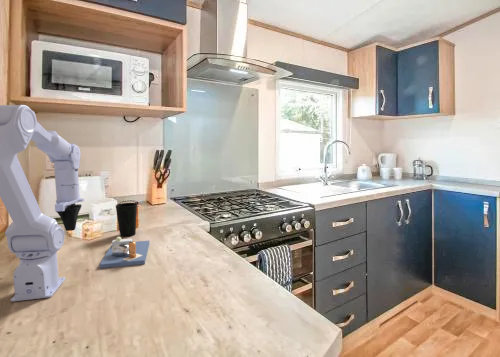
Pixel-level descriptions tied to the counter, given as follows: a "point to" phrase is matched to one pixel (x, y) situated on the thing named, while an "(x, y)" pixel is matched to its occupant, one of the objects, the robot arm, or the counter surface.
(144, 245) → the plate
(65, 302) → the counter surface
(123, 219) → the cup
